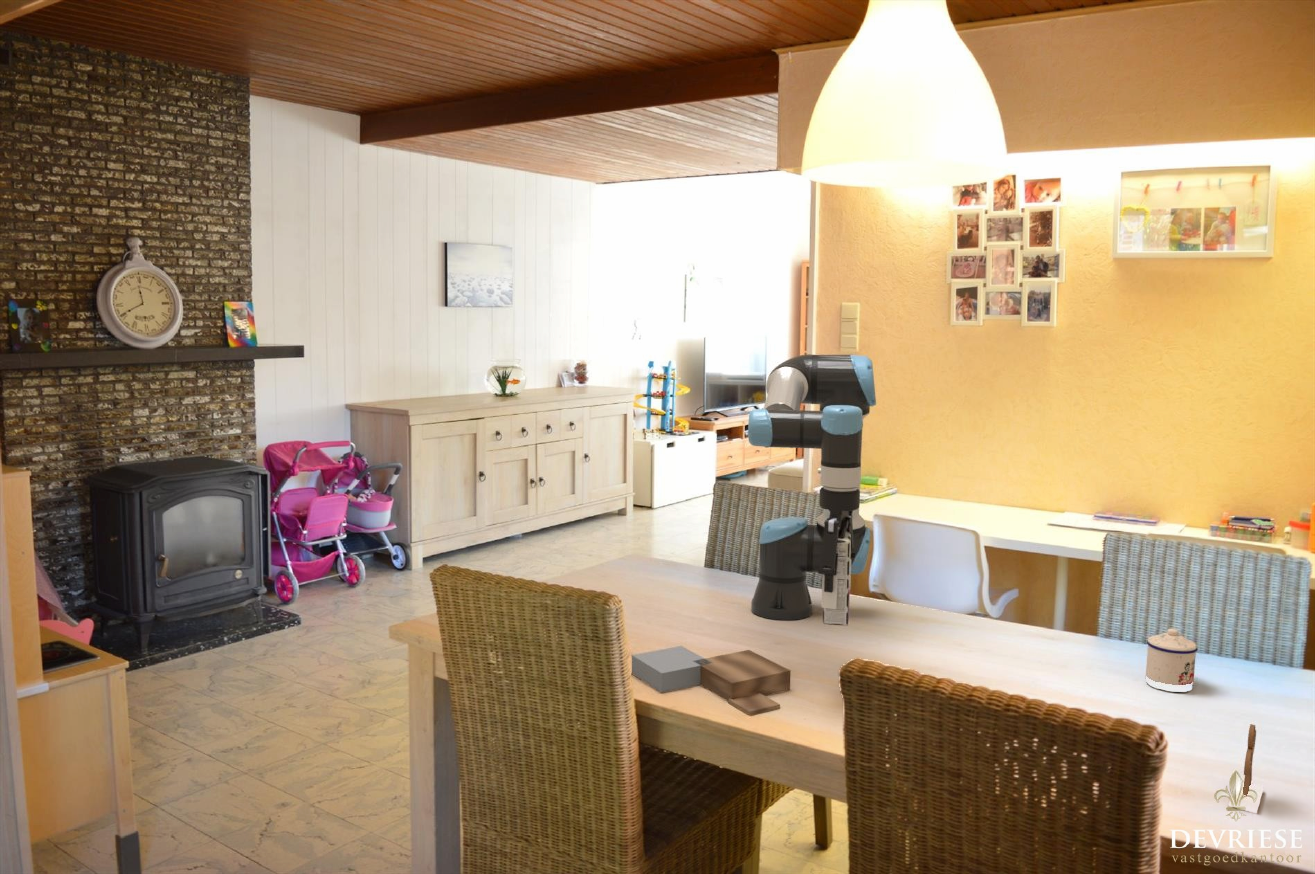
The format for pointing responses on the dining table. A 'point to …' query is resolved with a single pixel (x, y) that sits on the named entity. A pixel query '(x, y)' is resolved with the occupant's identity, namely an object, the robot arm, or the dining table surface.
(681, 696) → the dining table surface
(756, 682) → the walnut block
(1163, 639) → the teacup with lid
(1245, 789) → the gingerbread man figurine
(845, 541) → the candy bar box
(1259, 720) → the dining table surface
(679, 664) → the slate grey block
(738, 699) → the tile
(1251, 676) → the dining table surface
